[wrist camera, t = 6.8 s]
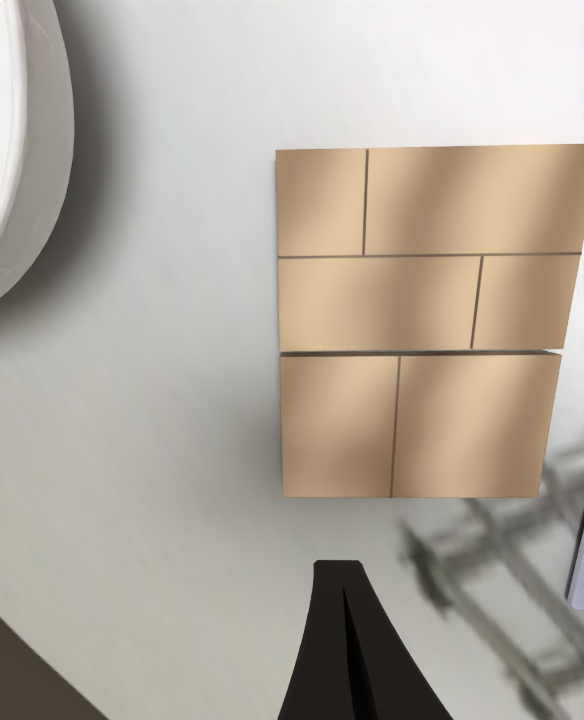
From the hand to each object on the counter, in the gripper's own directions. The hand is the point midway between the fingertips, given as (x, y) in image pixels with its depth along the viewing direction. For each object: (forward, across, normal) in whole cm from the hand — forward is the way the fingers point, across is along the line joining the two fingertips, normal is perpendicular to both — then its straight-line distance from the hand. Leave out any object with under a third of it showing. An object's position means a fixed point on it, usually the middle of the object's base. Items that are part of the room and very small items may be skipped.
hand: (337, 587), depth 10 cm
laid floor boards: (+9, -5, -10) cm, 15 cm away
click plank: (+9, -5, -1) cm, 11 cm away
